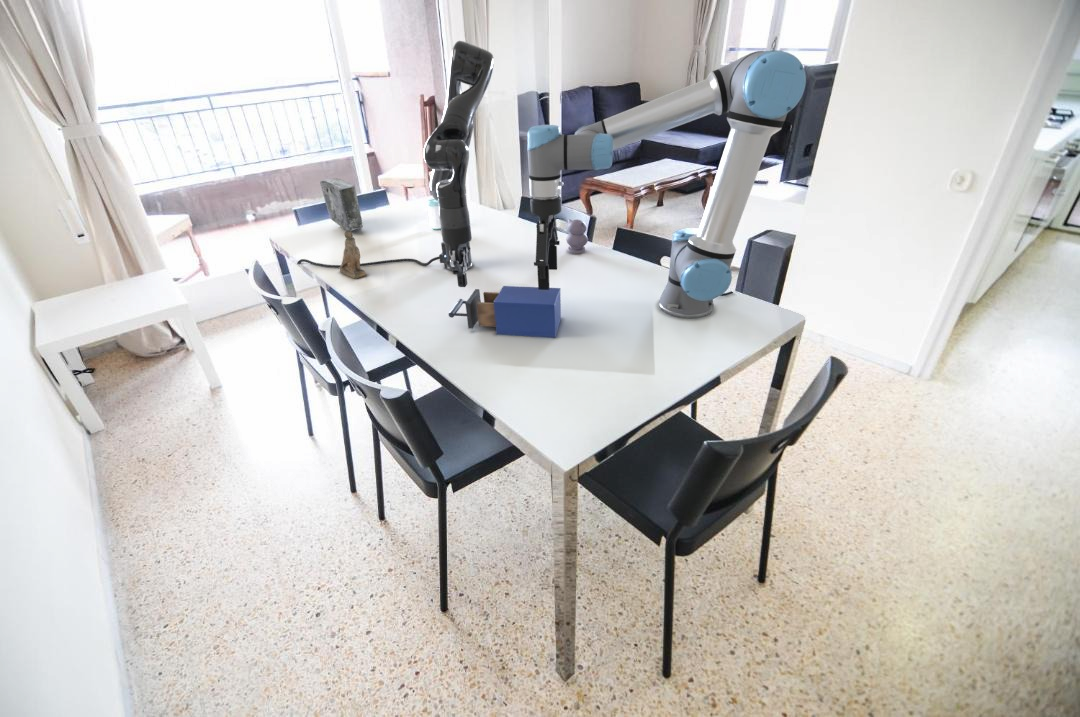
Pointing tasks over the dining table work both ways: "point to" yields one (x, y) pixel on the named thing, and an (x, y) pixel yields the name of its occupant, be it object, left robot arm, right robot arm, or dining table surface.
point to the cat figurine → (576, 236)
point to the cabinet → (527, 311)
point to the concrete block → (342, 203)
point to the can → (434, 214)
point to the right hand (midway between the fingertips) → (548, 278)
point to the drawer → (477, 309)
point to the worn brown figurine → (351, 258)
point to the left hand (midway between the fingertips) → (463, 285)
